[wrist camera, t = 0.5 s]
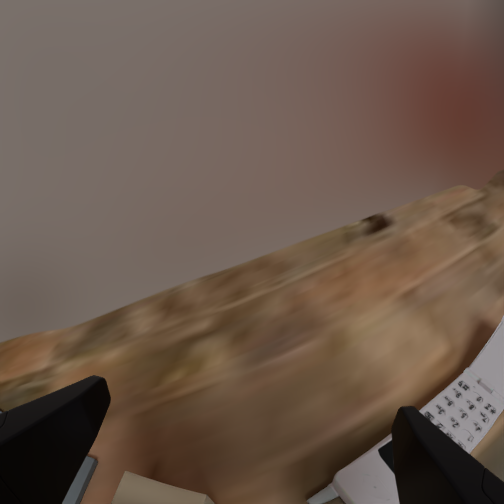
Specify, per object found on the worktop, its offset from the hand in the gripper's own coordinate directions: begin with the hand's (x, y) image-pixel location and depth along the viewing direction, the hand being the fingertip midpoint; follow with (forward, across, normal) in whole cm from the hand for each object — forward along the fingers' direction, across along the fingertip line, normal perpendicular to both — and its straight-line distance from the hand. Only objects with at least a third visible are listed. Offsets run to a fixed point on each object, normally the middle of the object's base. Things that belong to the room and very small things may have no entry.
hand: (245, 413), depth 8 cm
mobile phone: (+10, -15, +13) cm, 22 cm away
